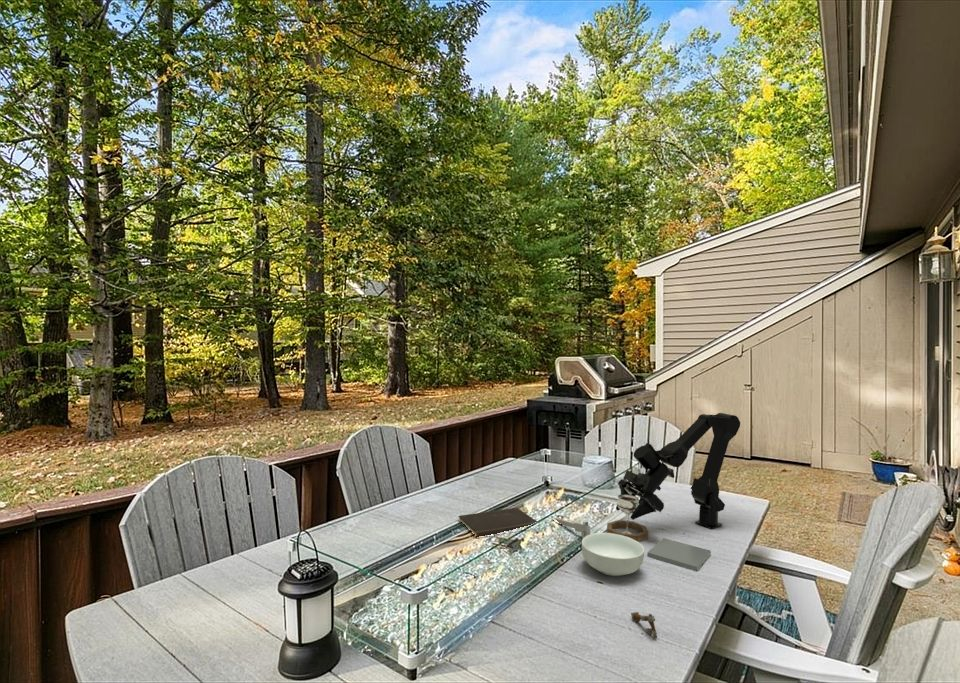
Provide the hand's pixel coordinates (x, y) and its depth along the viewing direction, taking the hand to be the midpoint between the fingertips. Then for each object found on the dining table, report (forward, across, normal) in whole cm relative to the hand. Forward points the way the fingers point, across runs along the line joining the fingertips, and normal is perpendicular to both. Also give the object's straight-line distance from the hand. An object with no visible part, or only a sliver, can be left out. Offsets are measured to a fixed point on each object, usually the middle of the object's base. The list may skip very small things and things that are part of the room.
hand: (623, 514), depth 163 cm
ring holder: (+4, 0, +6) cm, 7 cm away
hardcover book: (+32, -18, -21) cm, 42 cm away
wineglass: (+4, 0, +6) cm, 7 cm away
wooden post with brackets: (+23, +47, -13) cm, 54 cm away
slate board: (0, +18, +10) cm, 21 cm away
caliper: (+16, -7, -6) cm, 19 cm away
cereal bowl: (+17, +21, -7) cm, 28 cm away
